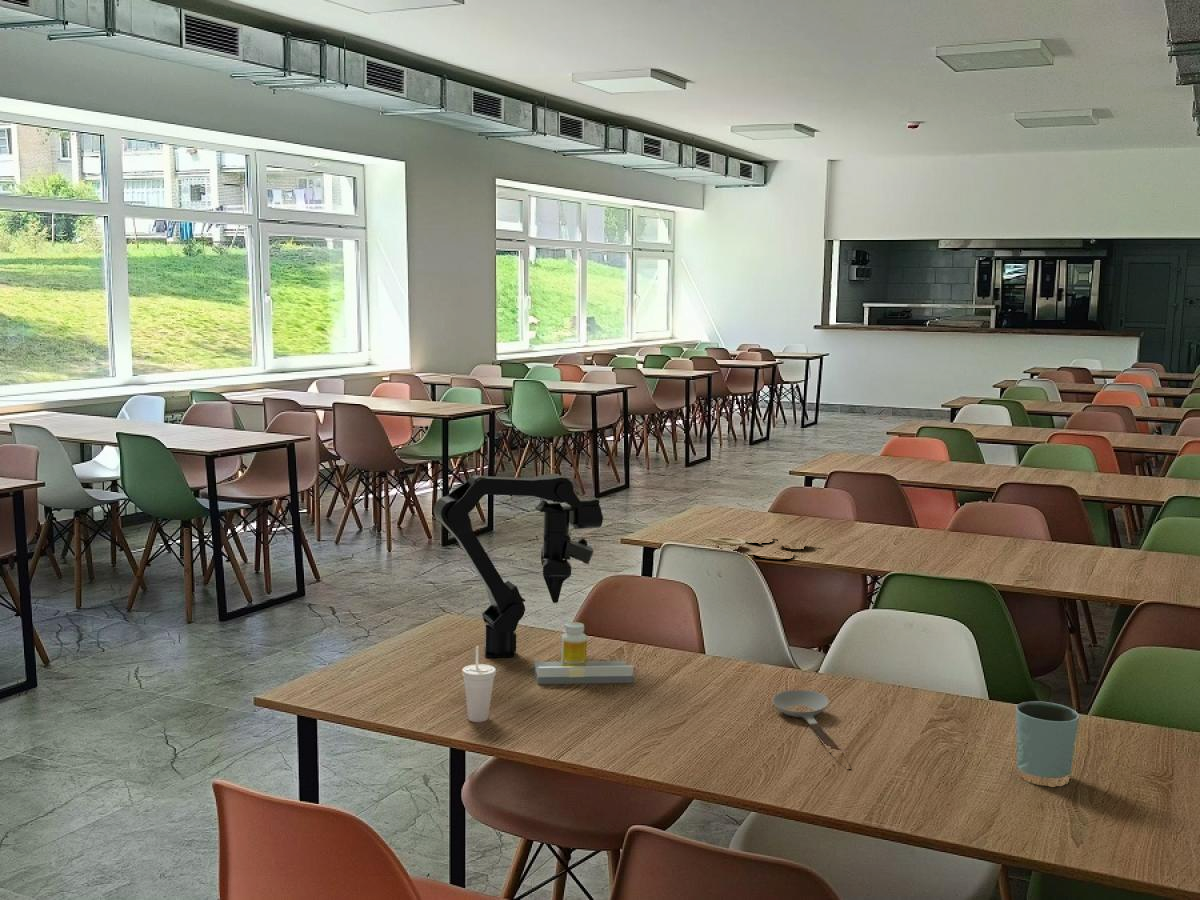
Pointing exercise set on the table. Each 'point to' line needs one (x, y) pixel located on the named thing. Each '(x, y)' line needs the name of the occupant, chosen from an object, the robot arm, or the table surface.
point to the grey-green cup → (1045, 738)
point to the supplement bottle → (573, 645)
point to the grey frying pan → (811, 701)
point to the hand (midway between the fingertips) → (554, 597)
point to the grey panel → (584, 672)
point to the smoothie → (478, 689)
